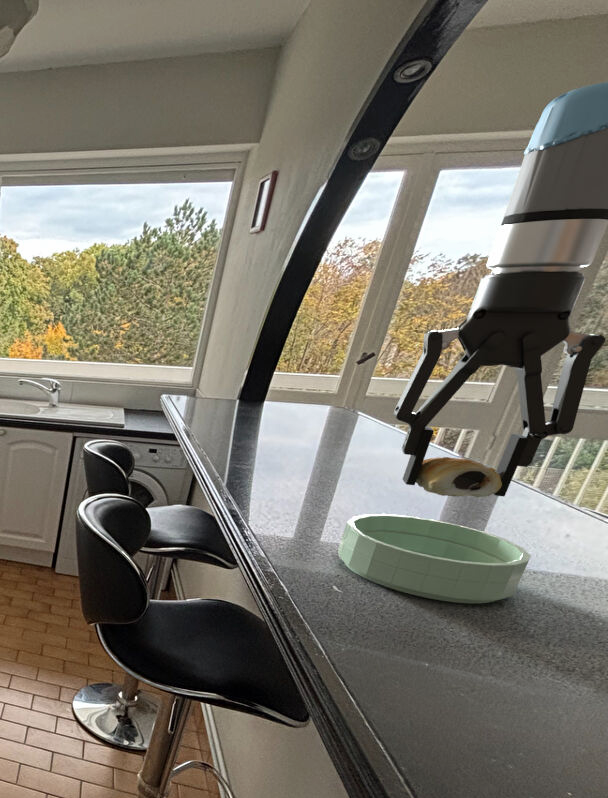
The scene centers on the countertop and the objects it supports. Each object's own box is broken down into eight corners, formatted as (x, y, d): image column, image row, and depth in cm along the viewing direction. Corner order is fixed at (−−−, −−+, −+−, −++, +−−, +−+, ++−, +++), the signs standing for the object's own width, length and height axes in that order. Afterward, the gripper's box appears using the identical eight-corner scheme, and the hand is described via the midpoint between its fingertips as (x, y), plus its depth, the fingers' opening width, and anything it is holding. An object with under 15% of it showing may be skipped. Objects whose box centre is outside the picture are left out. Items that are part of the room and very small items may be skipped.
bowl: (488, 566, 75) (504, 529, 73) (533, 621, 62) (554, 578, 60) (331, 540, 82) (342, 506, 81) (342, 583, 70) (354, 545, 68)
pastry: (393, 474, 74) (403, 444, 73) (457, 479, 73) (469, 449, 71) (431, 495, 66) (443, 462, 65) (505, 502, 64) (520, 468, 63)
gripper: (661, 271, 58) (559, 493, 67) (402, 274, 68) (343, 468, 76) (704, 267, 52) (586, 511, 61) (414, 271, 62) (348, 481, 70)
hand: (451, 487), depth 68 cm, fingers closed on pastry, 7 cm apart
